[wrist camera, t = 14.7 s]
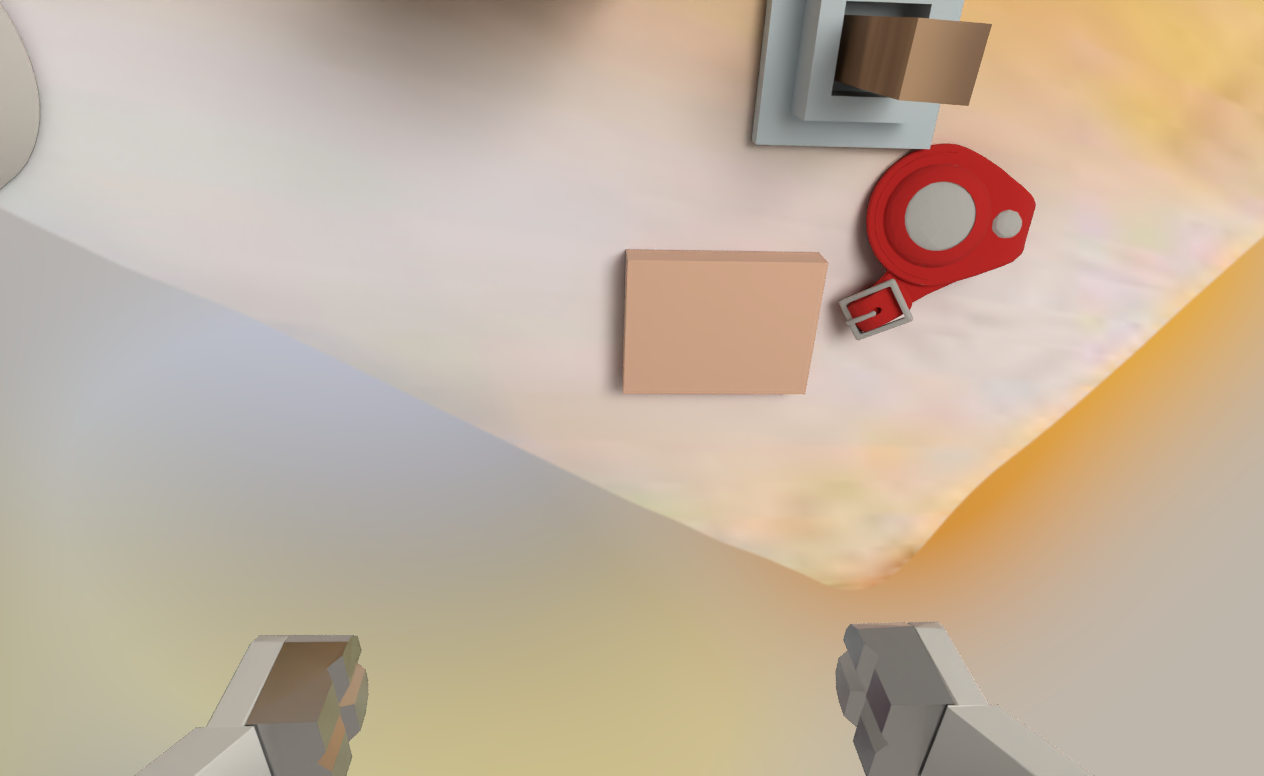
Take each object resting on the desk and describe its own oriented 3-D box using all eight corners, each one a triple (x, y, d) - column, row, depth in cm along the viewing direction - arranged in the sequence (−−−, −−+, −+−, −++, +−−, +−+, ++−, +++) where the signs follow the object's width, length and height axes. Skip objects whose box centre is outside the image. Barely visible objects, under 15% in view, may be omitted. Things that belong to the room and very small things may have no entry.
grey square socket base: (751, 140, 40) (767, 154, 36) (774, -68, 35) (795, -76, 31) (920, 145, 40) (952, 158, 37) (966, -59, 36) (1007, -65, 32)
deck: (622, 379, 47) (623, 393, 45) (626, 249, 42) (627, 260, 41) (797, 379, 47) (805, 394, 46) (818, 252, 43) (828, 262, 41)
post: (825, 77, 37) (898, 100, 28) (837, 14, 36) (918, 17, 27) (879, 82, 37) (968, 105, 29) (893, 19, 36) (992, 24, 27)
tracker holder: (879, 131, 39) (1067, 153, 38) (866, 139, 43) (1035, 159, 42) (836, 342, 42) (1007, 368, 41) (828, 330, 46) (983, 353, 45)
